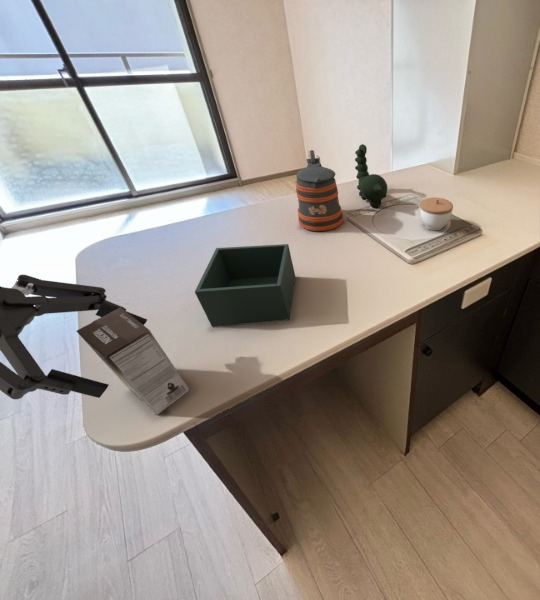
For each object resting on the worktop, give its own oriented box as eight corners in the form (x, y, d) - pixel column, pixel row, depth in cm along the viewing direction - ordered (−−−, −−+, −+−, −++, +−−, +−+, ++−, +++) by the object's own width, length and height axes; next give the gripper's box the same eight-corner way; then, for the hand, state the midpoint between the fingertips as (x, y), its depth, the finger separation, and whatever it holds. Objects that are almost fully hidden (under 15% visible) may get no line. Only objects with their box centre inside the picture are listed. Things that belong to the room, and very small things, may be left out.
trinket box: (451, 234, 106) (456, 207, 100) (419, 233, 106) (421, 205, 99) (448, 218, 114) (451, 192, 108) (417, 217, 114) (419, 191, 108)
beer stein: (295, 209, 116) (284, 150, 103) (336, 204, 120) (330, 147, 107) (301, 234, 102) (289, 170, 89) (347, 228, 106) (342, 166, 93)
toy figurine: (351, 193, 132) (368, 215, 113) (346, 142, 121) (365, 157, 102) (373, 190, 134) (394, 211, 116) (370, 140, 123) (393, 154, 104)
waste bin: (211, 326, 71) (194, 291, 65) (229, 281, 84) (216, 247, 77) (289, 320, 74) (280, 285, 67) (295, 276, 86) (288, 243, 80)
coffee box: (128, 391, 59) (72, 329, 48) (164, 367, 63) (119, 305, 52) (156, 416, 55) (103, 356, 45) (192, 389, 59) (151, 328, 49)
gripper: (-3, 255, 51) (147, 315, 63) (-191, 392, 33) (72, 440, 45) (10, 223, 48) (164, 292, 60) (-186, 352, 30) (93, 414, 42)
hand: (126, 355), depth 52 cm, fingers open, 13 cm apart
